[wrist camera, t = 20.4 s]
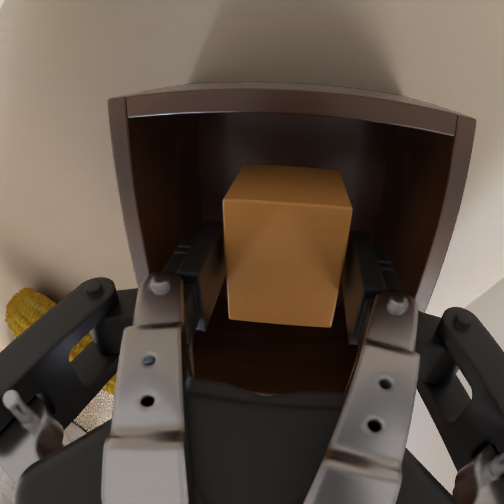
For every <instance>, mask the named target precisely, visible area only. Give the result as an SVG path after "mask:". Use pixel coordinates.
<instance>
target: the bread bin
mask: <svg viewBox="0 0 504 504" xmlns="http://www.w3.org/2000/svg"><path fill="white" fill-rule="evenodd" d="M108 113H109V123H110V133H111V141H112V150H113V157H114V165H115V172H116V178H117V185H118V191H119V197H120V203H121V209H122V214H123V220H124V225H125V230H126V235H127V240H128V245H129V249H130V254H131V258H132V263H133V267H134V272H135V276H136V280H137V284H138V288H139V284H140V282H141V281H142V280H143V279H144V278H145V277H146V276H148V275H150V274H152V273H155V272H161V271H162V270H163V268H164V267H165V265H166V263H167V262H168V260H169V259H170V257H171V256H172V254H173V253H174V251H175V249H176V248H177V247H178V245H179V243H180V242H181V240H182V239H183V238H184V237H185V236H187V235H188V234H190V233H191V232H199V231H200V230H201V228H202V226H203V225H204V223H205V221H206V220H212V221H223V199H224V197H225V195H226V193H227V192H228V190H229V188H230V187H231V185H232V183H233V182H234V180H235V178H236V177H237V175H238V173H239V172H240V170H241V168H242V167H243V165H244V164H255V165H277V166H294V167H309V168H322V169H333V170H339V171H340V174H341V177H342V180H343V183H344V185H345V188H346V191H347V194H348V197H349V200H350V203H351V206H352V209H353V211H352V217H351V224H350V231H362V232H368V233H369V235H370V238H371V241H372V244H373V245H374V246H381V247H382V248H383V249H384V250H385V251H386V252H387V253H388V254H389V256H390V258H391V261H392V264H393V266H394V269H395V270H394V271H396V274H397V277H398V280H399V282H400V285H401V288H402V291H403V292H405V293H407V294H409V295H410V296H411V297H413V298H414V299H415V301H416V302H417V304H418V310H419V311H421V312H423V313H425V310H426V308H427V305H428V303H429V300H430V298H431V295H432V293H433V290H434V287H435V285H436V282H437V279H438V276H439V274H440V271H441V268H442V265H443V262H444V259H445V256H446V253H447V250H448V246H449V243H450V240H451V237H452V233H453V230H454V226H455V223H456V219H457V215H458V212H459V208H460V204H461V200H462V196H463V192H464V187H465V183H466V178H467V173H468V169H469V163H470V158H471V153H472V147H473V141H474V134H475V128H476V119H474V118H471V117H469V116H466V115H463V114H460V113H457V112H455V111H452V110H449V109H446V108H442V107H439V106H436V105H433V104H430V103H426V102H423V101H419V100H416V99H412V98H408V97H405V96H400V95H395V94H389V93H383V92H376V91H369V90H362V89H354V88H346V87H337V86H327V85H315V84H300V83H279V82H218V83H197V84H185V85H178V86H172V87H165V88H159V89H154V90H148V91H143V92H138V93H133V94H128V95H123V96H119V97H115V98H110V99H108ZM192 339H193V345H194V361H195V375H196V378H198V379H204V380H210V381H217V382H224V383H227V384H230V385H233V386H236V387H239V388H241V389H244V390H247V391H250V392H253V393H256V394H259V395H262V396H272V395H281V394H289V393H296V392H303V391H318V392H343V393H344V392H345V390H346V387H347V384H348V381H349V378H350V375H351V372H352V369H353V366H354V363H355V360H356V357H357V354H358V351H359V349H358V345H353V344H348V334H347V325H346V316H345V307H344V299H343V291H342V284H341V282H340V288H339V293H338V298H337V303H336V307H335V312H334V317H333V321H332V326H331V327H329V328H327V327H312V326H298V325H285V324H273V323H262V322H251V321H241V320H232V319H229V313H228V297H227V280H226V276H225V278H224V281H223V284H222V287H221V290H220V292H219V295H218V298H217V301H216V304H215V306H214V309H213V312H212V315H211V318H210V320H209V323H208V326H207V329H206V331H199V330H195V333H194V335H193V338H192Z"/></svg>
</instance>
